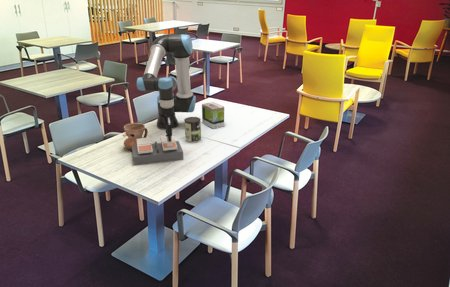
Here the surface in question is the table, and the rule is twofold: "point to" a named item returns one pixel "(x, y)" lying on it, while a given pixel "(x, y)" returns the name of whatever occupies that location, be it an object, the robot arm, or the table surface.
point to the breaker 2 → (164, 143)
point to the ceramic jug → (134, 134)
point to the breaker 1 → (144, 145)
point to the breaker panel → (157, 154)
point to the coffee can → (192, 129)
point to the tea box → (213, 115)
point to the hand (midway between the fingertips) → (169, 145)
